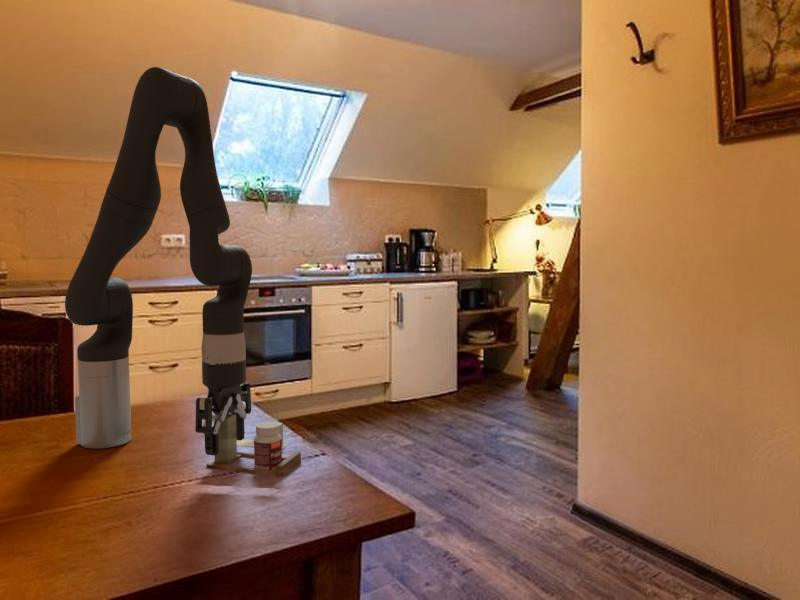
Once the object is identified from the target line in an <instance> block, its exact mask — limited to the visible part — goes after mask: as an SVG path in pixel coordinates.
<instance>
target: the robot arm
mask: <svg viewBox="0 0 800 600" xmlns="http://www.w3.org/2000/svg"><path fill="white" fill-rule="evenodd" d="M207 101H208V100H207V97H206V94H205V91H204V89H203V88H202V86H201V84H200V83H198V82H197V81H196V80H194V79H193V78H190V77H188V76H184V75H182V74H179V73H176V72H175V71H171V70H169V69H165V68H163V67H159V66H152V67H149V68H148V69H146V70H145V71H144V72H143V73H142V74H141V75H140V77H139V79H138V82H137V84H136V85H135V88H134V91H133V95H132V100H131V103H130V104H131V105H130V109H129V112H128V117H127V121H126V126H125V131H124V135H123V139H122V142H121V146H120V149H119V152H118V156H117V159H116V163H115V165H114V169H113V171H112V175H111V177H110V180H109V182H108V184H107V188H106V191H105V193H104V196H103V199H102V202H101V205H100V209H99V212H98V214H97V215H98V216H97V219H96V221H95V225H94V227H93V230H92V232H91V236H90V238H89V241H88V243H87V245H86V248H85V250H84V252H83V255H82V257H81V259H80V261H79V264H78V266H77V267H76V269H75V271H74V274H73V276H72V278H71V280H70V282H69V285H68V287H67V290H66V295H65V297H64V298H65V300H64V308H65V309H64V310H65V313H66V317H67V318H68V320H69V321H70V322H71V323H73V324H75V325H77V326H82V327H83V326H85V327H86V326H96V329H95V331H94V333H93V334H92V335H91V336H90V337H89V338H88V339H85V340H84V341H83V342H81V343H80V344H79V345H77V351H76V355H77V358H76V359H77V375H78V376H77V377H78V379H77V382H78V395H77V396H75V398H74V411H75V412H74V413H75V415H74V416H75V436H76V437H75V438H76V439H75V440H76V441H75V443H76V444H77V445H80V446H81V447H83V448H87V449H107V448H108V449H109V448H114V447H118V446H122V445H125V444H127V443H129V442H130V441H131V440H132V421H131V420H132V417H131V416H132V415H131V387H130V386H131V382H130V356H129V352H130V346H131V345H132V340H133V321H134V320H133V317H134V303H133V300H134V299H133V294H132V291H131V289H130V286H129V285H128V284H127V282H126V281H125V280H124V279H123V278H120V277H114V276H112V274H113V272H114V271H115V269H116V267H117V266H118V265H119V263H120V262H121V260H123V258H125V256H126V255H128V253H129V252H130V251H132V250H133V248H135V246H137V245H138V244H139V243H140V242H141V240H142V239H143V238H145V236H146V235H147V233H148V232H149V231H150V229H151V226H152V225H153V222H154V219H155V217H156V214H157V211H158V209H159V206H160V202H161V198H162V190H161V189H162V188H161V181H160V176H159V172H158V167H157V162H156V154H157V153H156V151H157V146H158V142H159V140H160V136H161V133H162V131H163V128H164V126H169V127H173V128H176V129H177V131H178V134H179V135H180V137H181V140H182V142H183V143H182V144H183V147H184V163H183V167H182V172H181V176H180V183H179V193H180V197H181V202H182V205H183V206H182V207H183V210H184V213H185V216H186V219H187V223H188V225H189V226H188V227H189V264H190V269H191V272H192V273H193V276H195V278H196V281H198V282H199V283H200V284H202V285H204V286H208V287H215V286H219V287H218V290H217V293H216V296H214V297H213V298H211V299H209V300H207V301H205V302H204V304H203V305H202V316H201V317H202V339H201V340H202V341H201V379H202V380H201V381H202V382H201V383H202V385H203V386H205V387H206V388H207V389H208V391H207V396H206V397H197V398H196V399H195V428H194V429H195V430H194V431H195V433H196V434H197V433H198V434H203V435H204V451H205V454H206V455H207V456H214V455H217V454H218V453H219V441H218V430H219V427H220V424H221V423H222V422H224V420H225V417H226V416H227V415H228V414H236V439H237V440H245V420H246V419H247V416H248V415H249V414H251V413H252V398H251V397H252V396H251V395H252V393H251V384H250V382H247V381H246V380H247V365H246V363H247V355H246V354H247V353H246V350H247V349H246V339H245V321H244V319H245V318H244V317H245V316H244V309H245V304H246V301H247V298H248V294H249V289H250V286H251V280H252V276H253V275H252V274H253V265H252V261H251V258H250V255H249V253H248V252H247V250H246V249H244V248H243V247H242V246H240V245H235V244H234V245H233V244H230V245H229V244H224V245H222V244H220V242H219V235H221V234H223V233H225V232H226V231H227V230H228V229H230V226H231V219H230V215H229V212H228V209H227V204H226V201H225V199H224V195H223V191H222V188H221V184H220V182H219V181H220V180H219V177H218V171H217V167H216V161H215V160H216V159H215V154H214V153H215V152H214V144H213V135H212V130H211V129H212V128H211V121H210V114H209V113H210V112H209V107H208V102H207ZM244 402H245V405H244ZM247 414H248V415H247ZM203 420H204V423H203ZM214 422H215V423H214Z"/></svg>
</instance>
